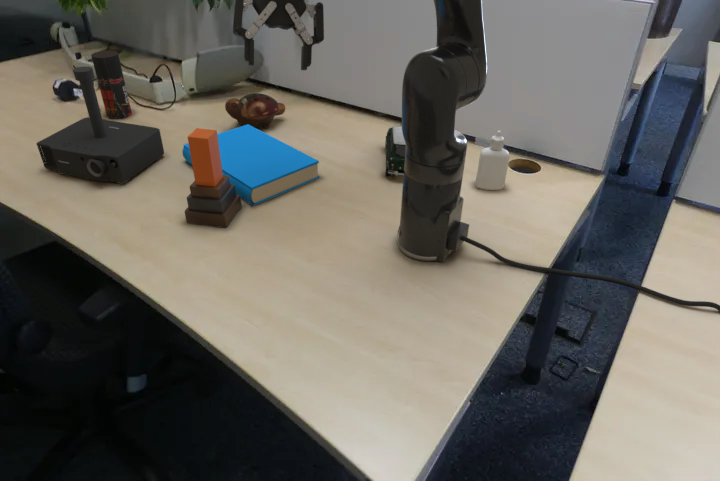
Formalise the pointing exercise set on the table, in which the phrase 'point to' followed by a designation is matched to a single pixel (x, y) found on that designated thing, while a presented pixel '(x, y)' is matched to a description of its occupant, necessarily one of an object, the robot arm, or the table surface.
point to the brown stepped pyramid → (212, 204)
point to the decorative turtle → (254, 109)
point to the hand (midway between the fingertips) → (278, 67)
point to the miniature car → (395, 151)
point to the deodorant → (111, 84)
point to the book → (261, 164)
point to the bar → (205, 157)
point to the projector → (100, 143)
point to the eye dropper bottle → (493, 165)
